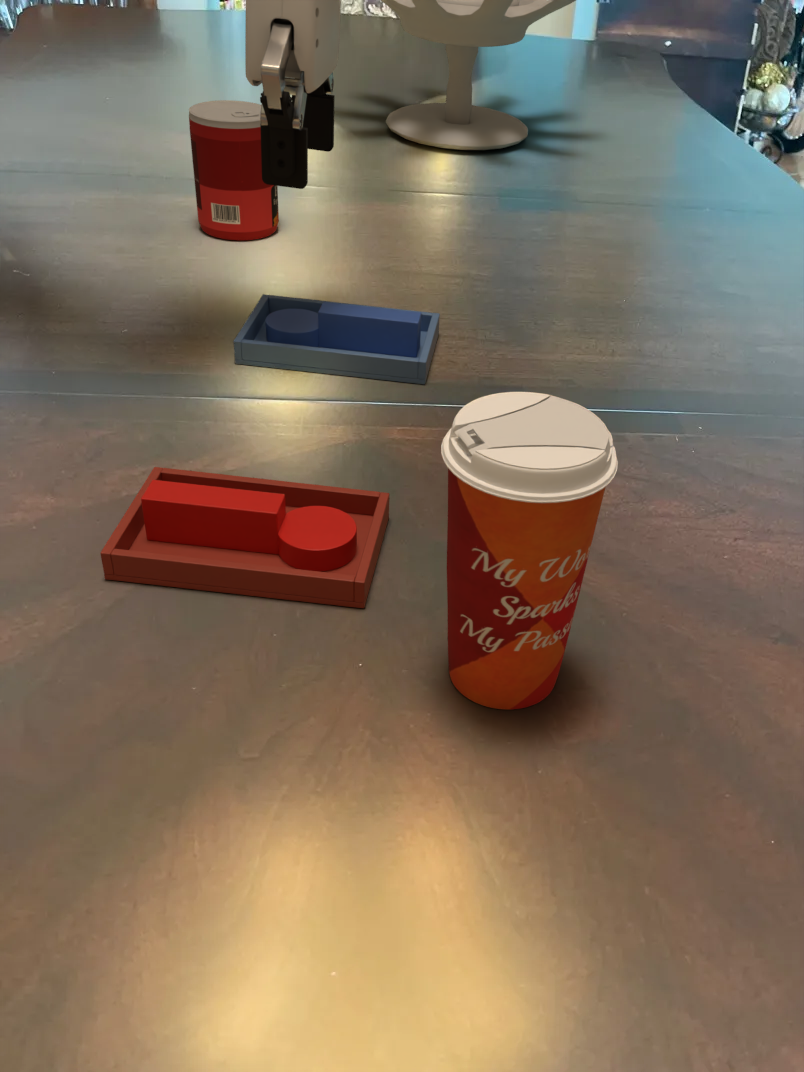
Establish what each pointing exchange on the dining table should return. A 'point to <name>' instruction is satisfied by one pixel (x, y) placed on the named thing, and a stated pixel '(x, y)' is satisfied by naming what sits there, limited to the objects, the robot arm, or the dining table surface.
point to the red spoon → (249, 524)
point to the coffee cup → (519, 539)
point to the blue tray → (260, 352)
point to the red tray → (243, 569)
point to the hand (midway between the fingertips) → (299, 166)
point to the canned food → (231, 171)
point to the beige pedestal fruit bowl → (464, 68)
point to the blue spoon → (348, 329)
